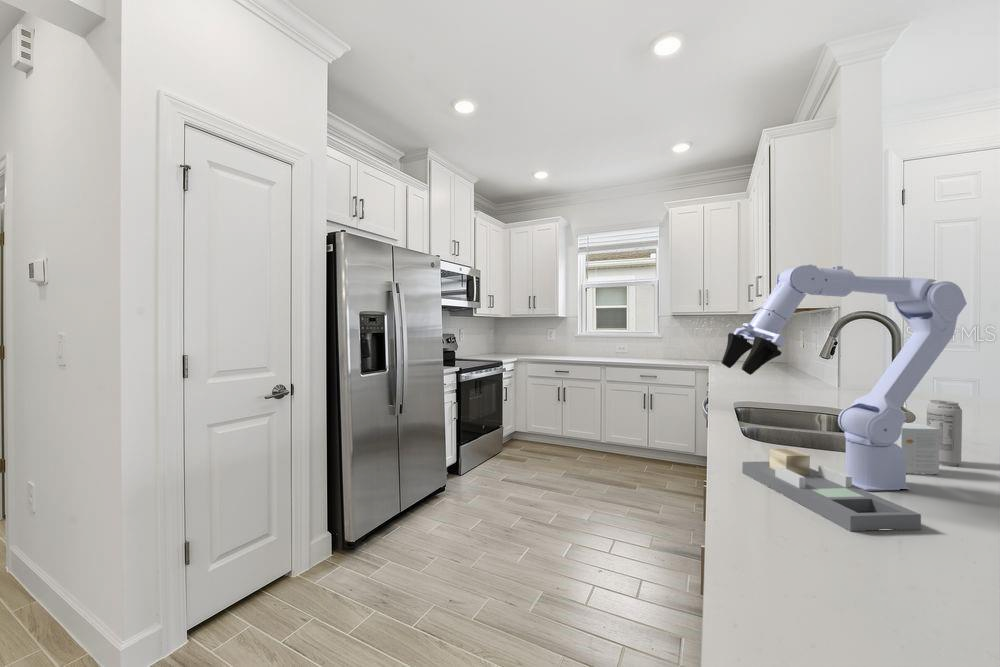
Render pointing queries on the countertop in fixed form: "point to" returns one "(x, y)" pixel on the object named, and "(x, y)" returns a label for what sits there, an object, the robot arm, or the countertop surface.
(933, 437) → the small box
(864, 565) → the countertop surface
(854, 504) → the grey long flat tray
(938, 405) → the energy drink can
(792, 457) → the block
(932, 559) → the countertop surface
